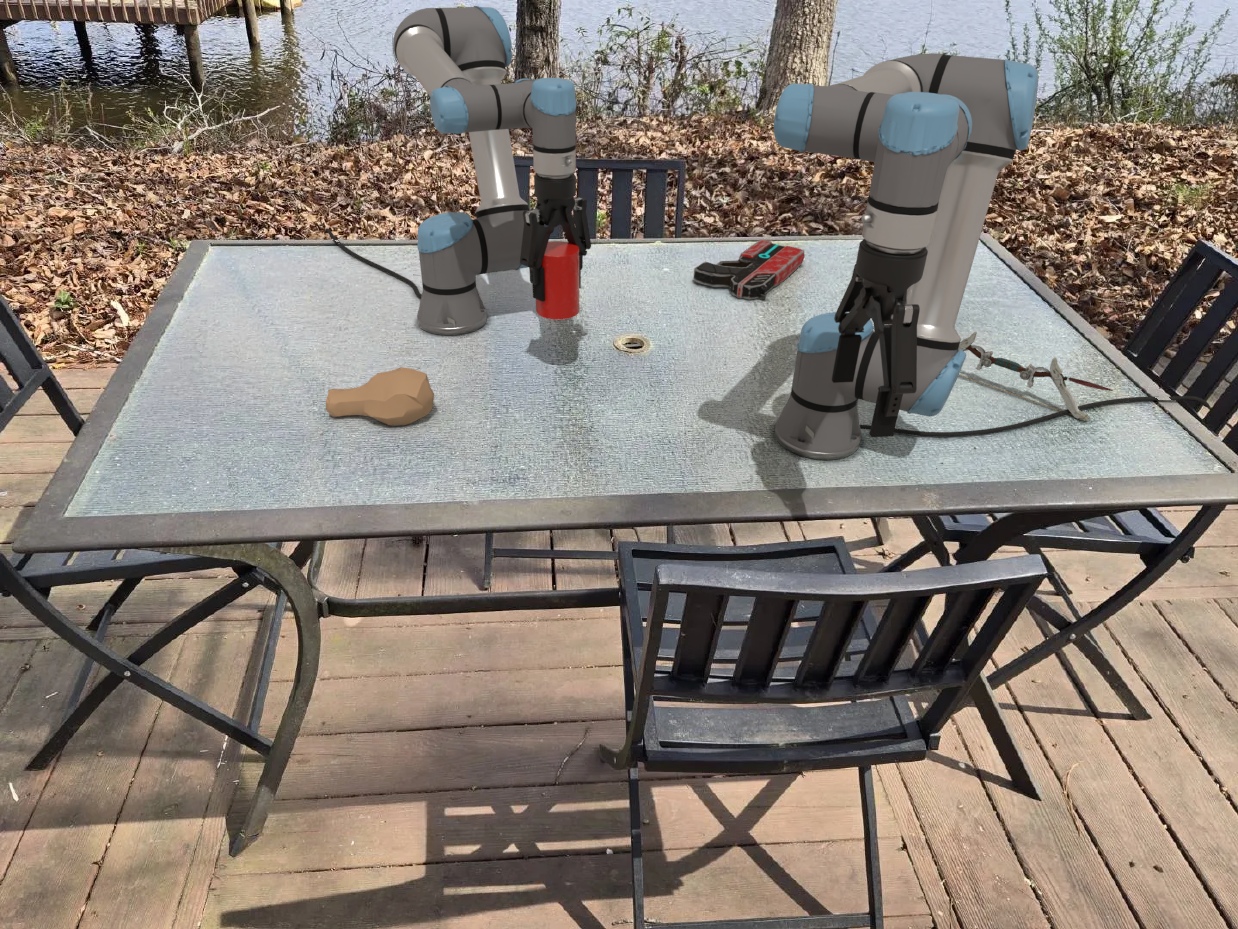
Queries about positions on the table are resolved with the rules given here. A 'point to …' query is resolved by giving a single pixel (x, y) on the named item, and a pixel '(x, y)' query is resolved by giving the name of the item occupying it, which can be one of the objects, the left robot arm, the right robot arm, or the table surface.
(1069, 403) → the bow
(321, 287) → the table surface
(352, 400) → the squash
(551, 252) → the tin
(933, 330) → the right robot arm
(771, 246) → the gun
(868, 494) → the table surface
